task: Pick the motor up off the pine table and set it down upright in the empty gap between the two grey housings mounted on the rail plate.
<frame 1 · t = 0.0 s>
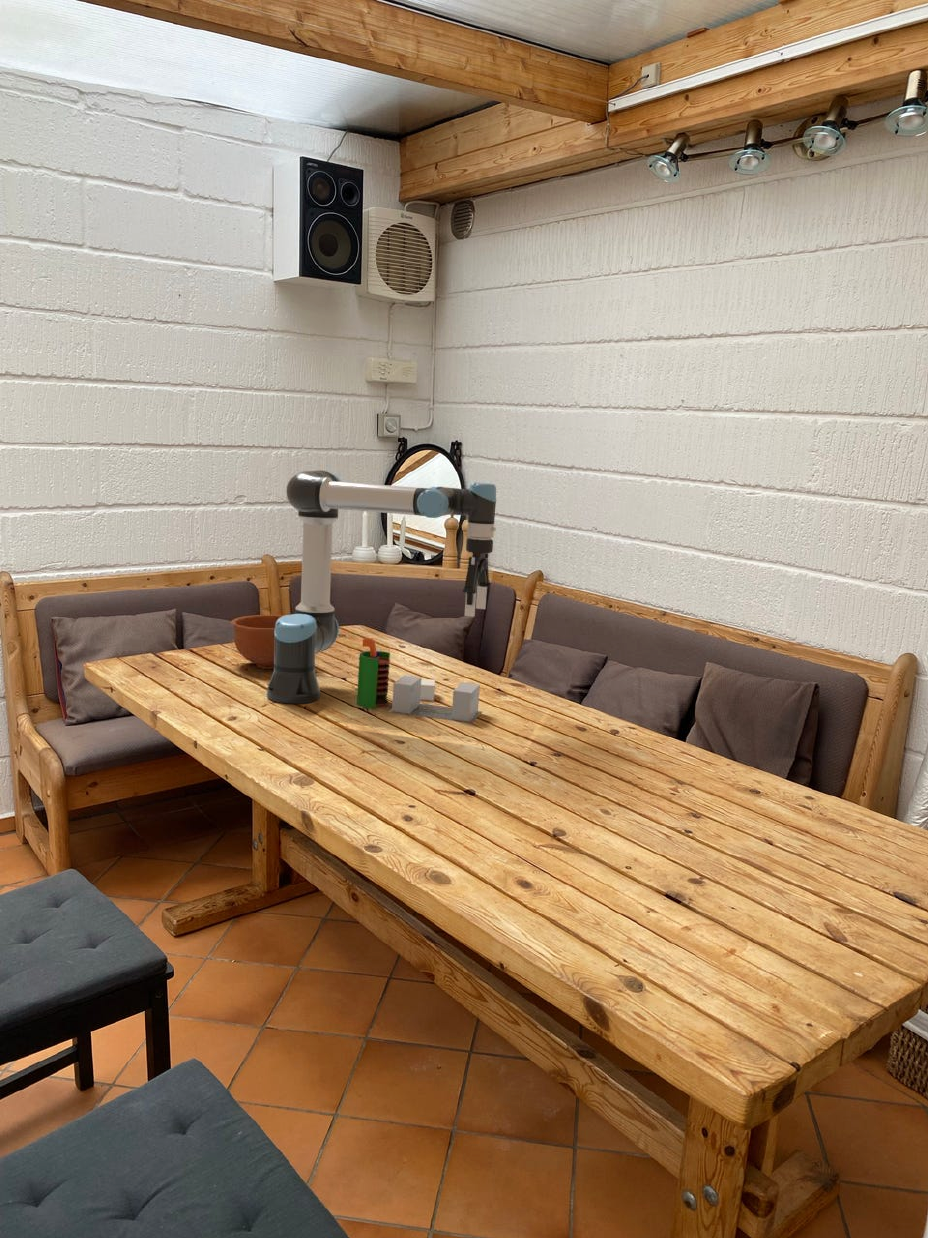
hand: (475, 612, 272), 28 cm above the table, fingers open, 13 cm apart
motor: (372, 709, 270), on the table
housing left: (406, 707, 267), resting on rail plate
rail plate: (435, 716, 265), on the table
loose relay: (425, 702, 280), on the table
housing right: (465, 715, 263), resting on rail plate
bowl: (269, 666, 311), on the table
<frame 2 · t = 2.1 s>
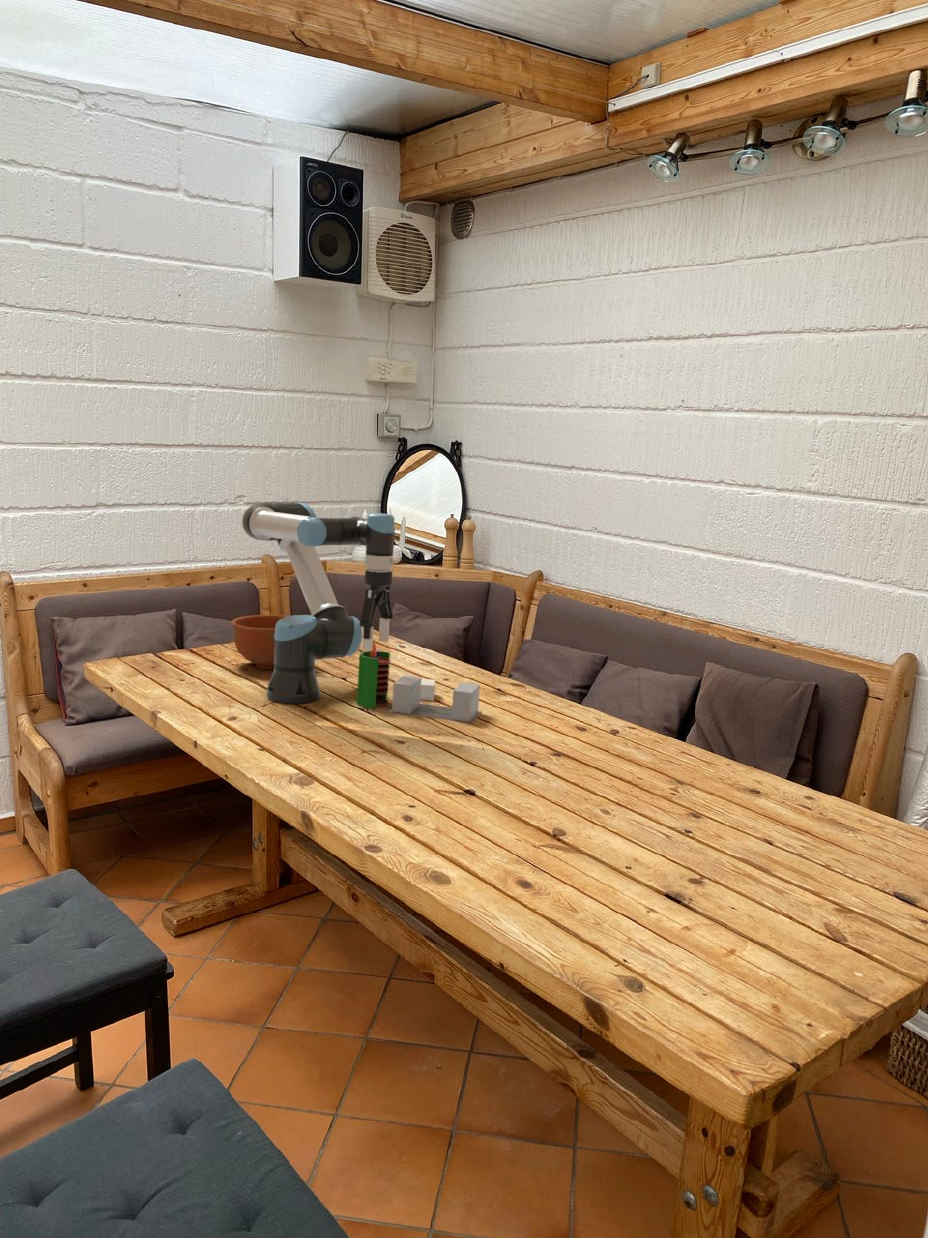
hand: (375, 645, 266), 18 cm above the table, fingers open, 13 cm apart
nothing on the table moved.
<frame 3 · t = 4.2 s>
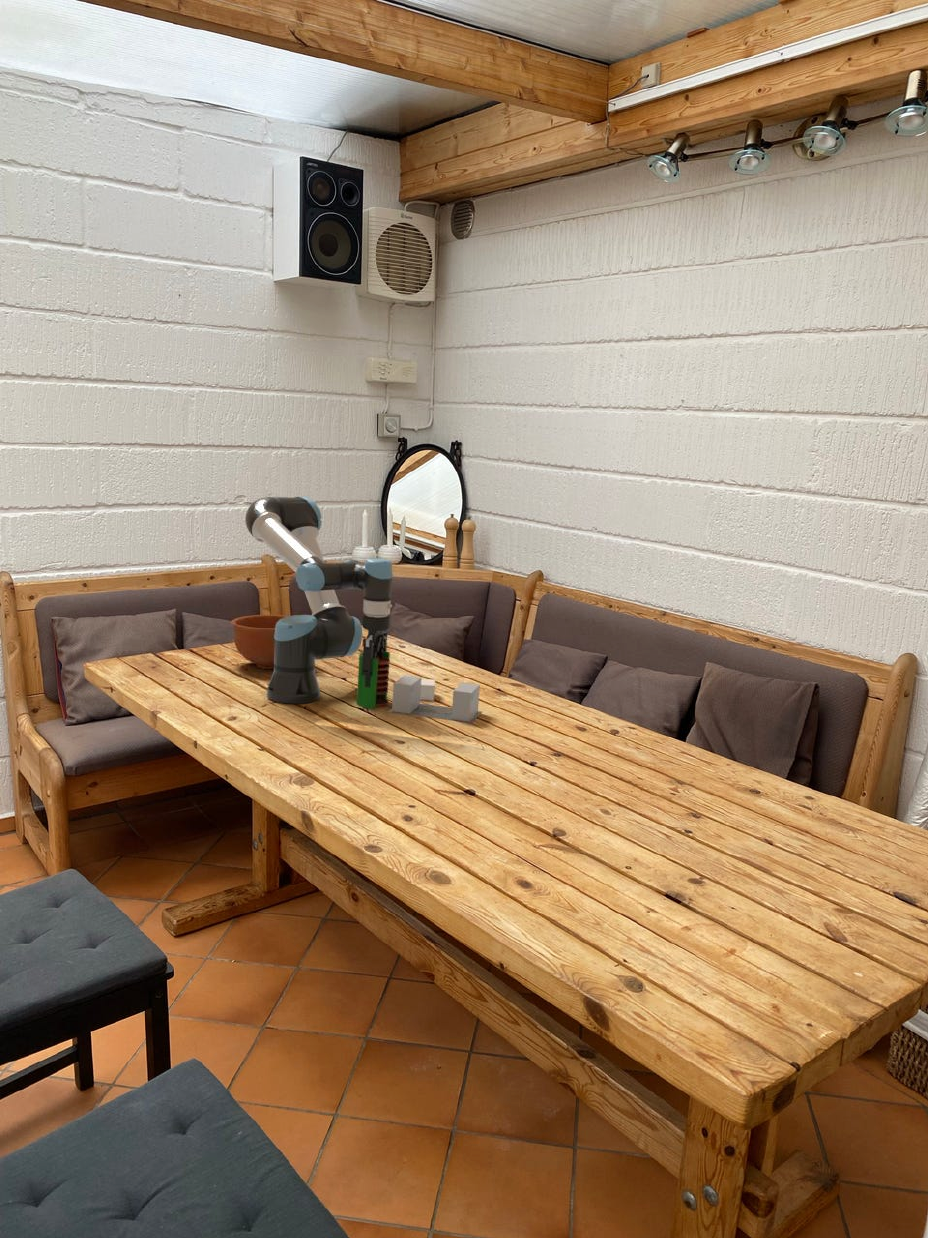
hand: (373, 694, 269), 4 cm above the table, fingers closed on motor, 7 cm apart
motor: (372, 709, 270), on the table, touching gripper
everything else where it was.
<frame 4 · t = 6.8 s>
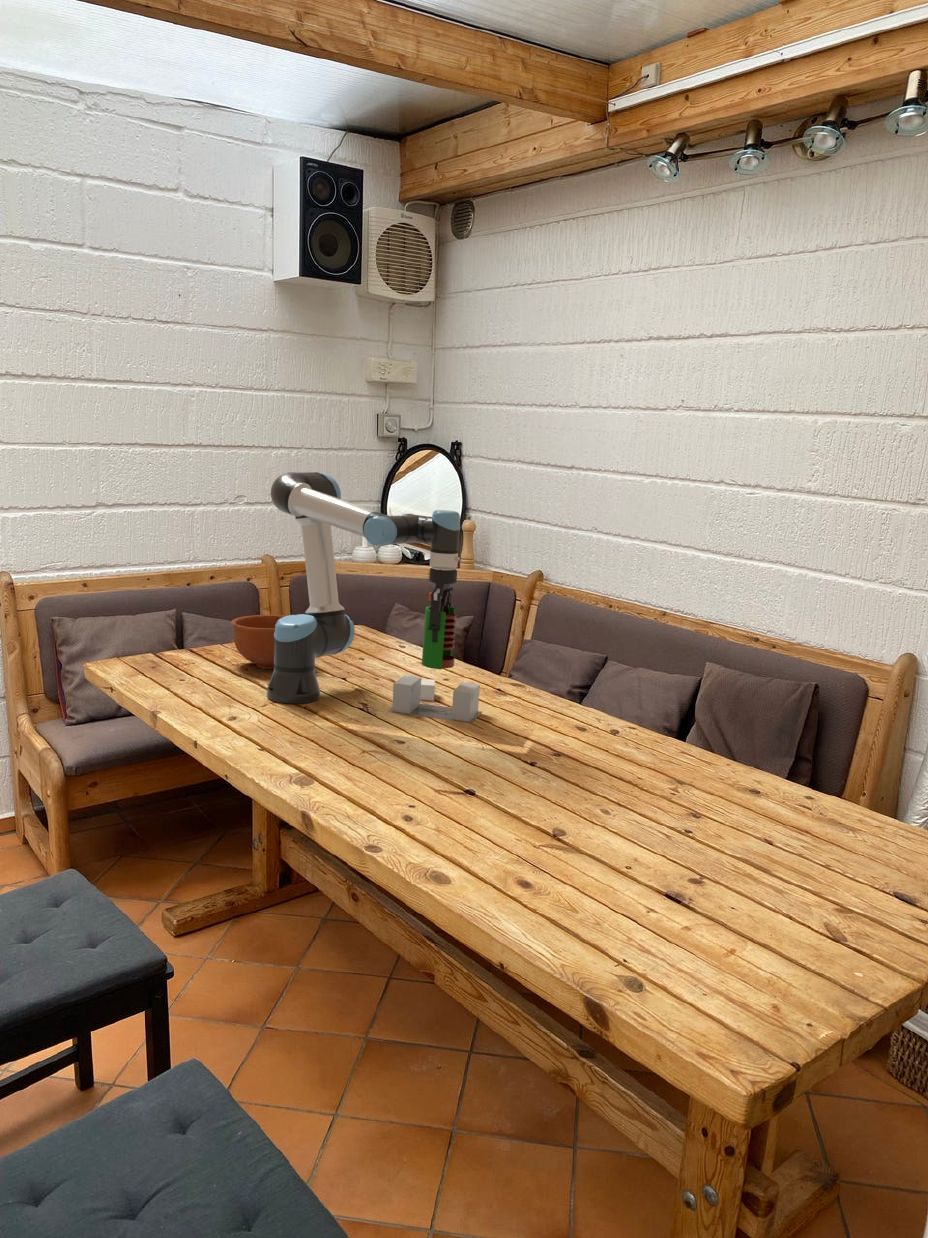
hand: (438, 650, 262), 19 cm above the table, fingers closed on motor, 7 cm apart
motor: (437, 665, 263), point 15 cm above the table, touching gripper
everything else where it was.
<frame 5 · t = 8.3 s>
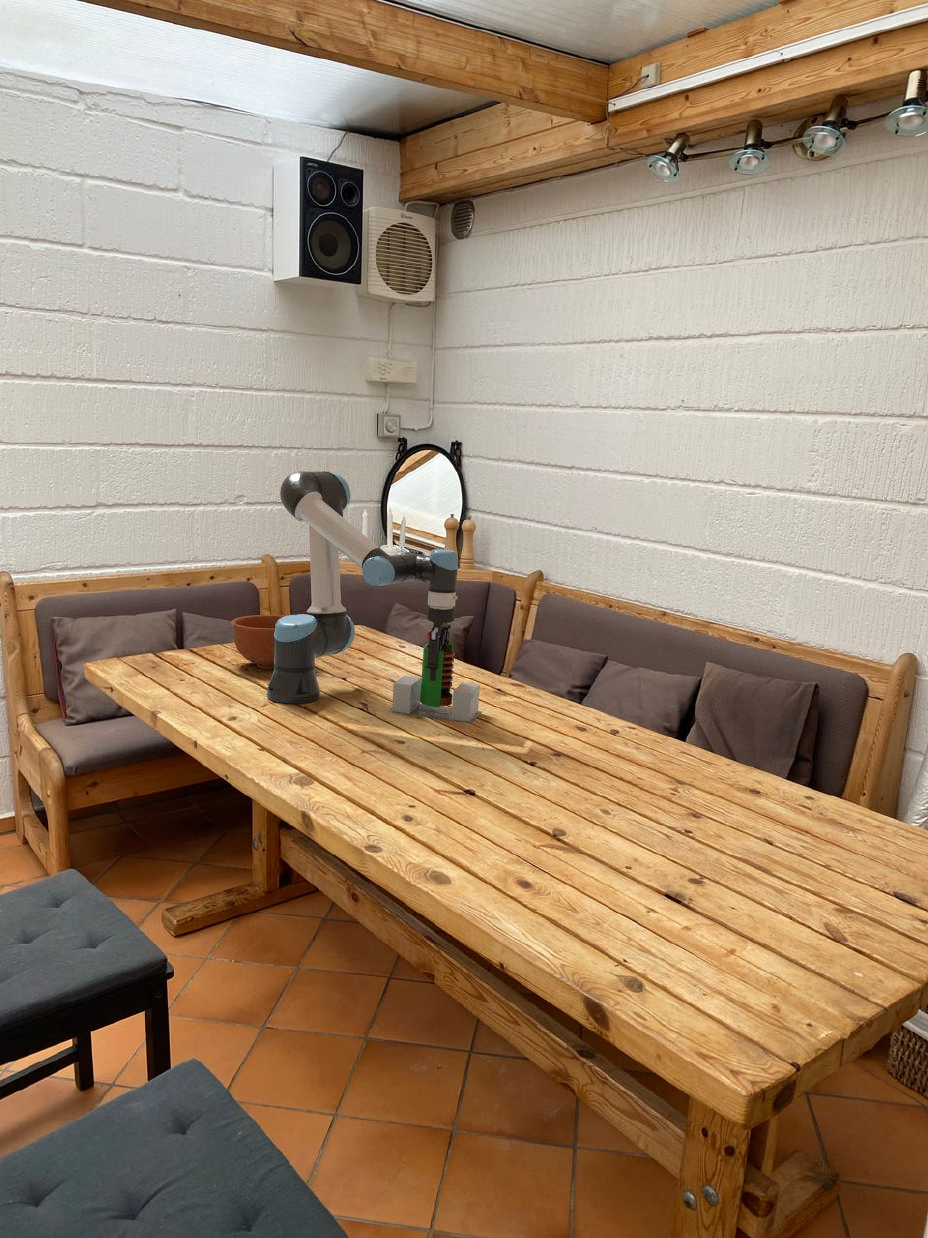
hand: (436, 688, 264), 8 cm above the table, fingers closed on motor, 7 cm apart
motor: (436, 702, 264), point 4 cm above the table, touching gripper
everything else where it was.
when the fingers open (7 cm above the table, at t = 9.2 s): motor drops 2 cm, resting on rail plate.
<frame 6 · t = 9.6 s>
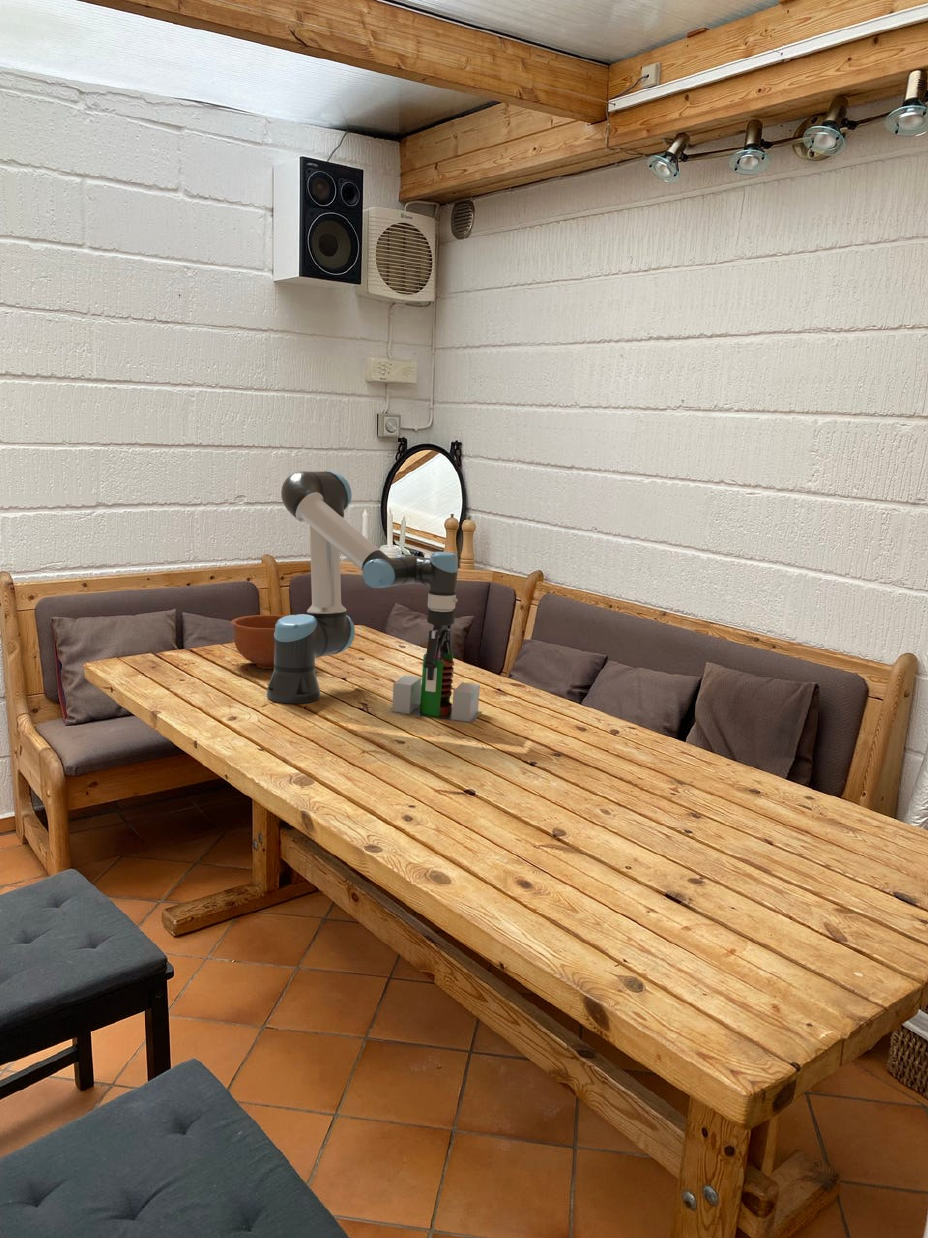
hand: (436, 685, 264), 9 cm above the table, fingers open, 12 cm apart
motor: (435, 712, 266), point 1 cm above the table, touching rail plate
everything else where it was.
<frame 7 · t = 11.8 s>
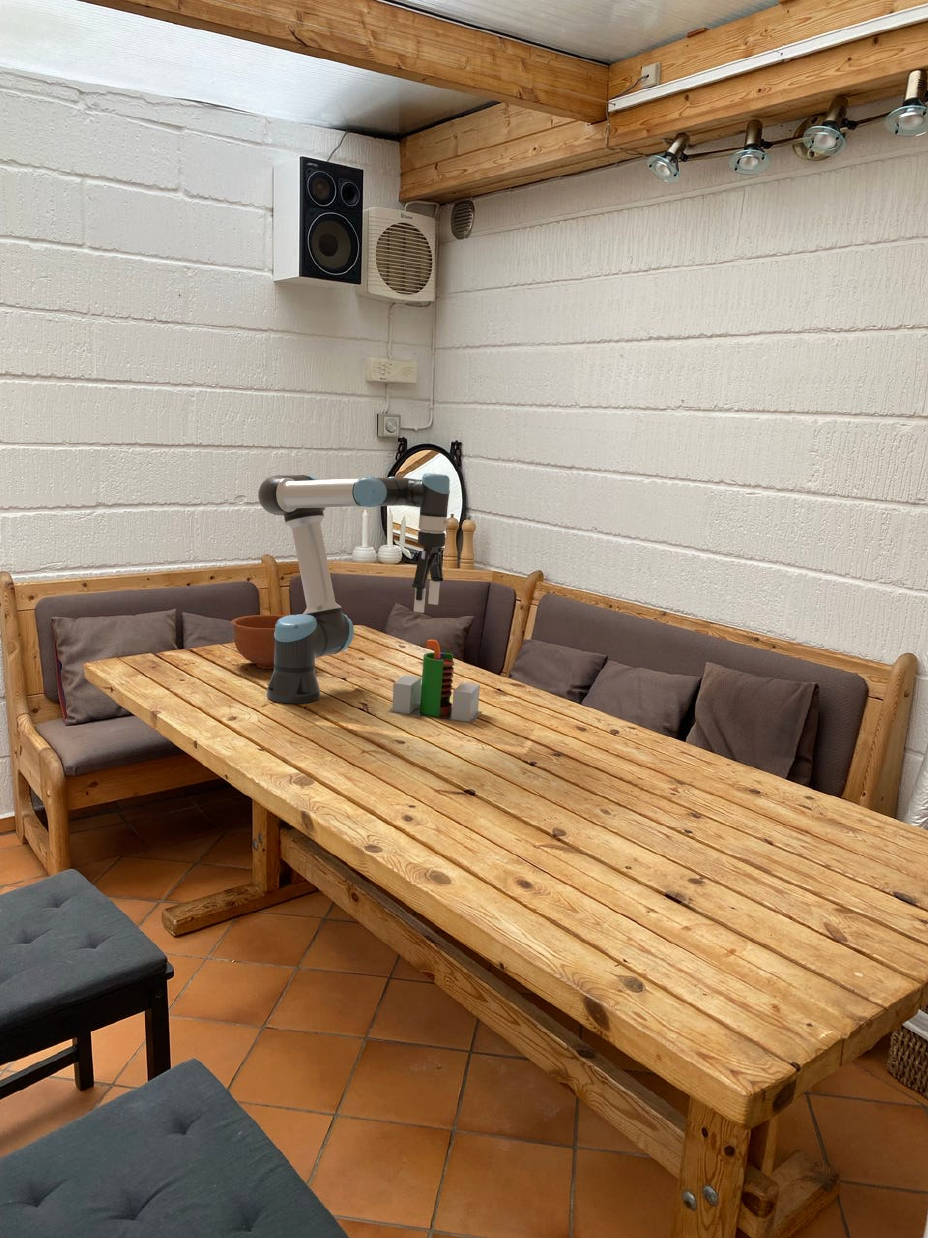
hand: (426, 608, 263), 30 cm above the table, fingers open, 13 cm apart
nothing on the table moved.
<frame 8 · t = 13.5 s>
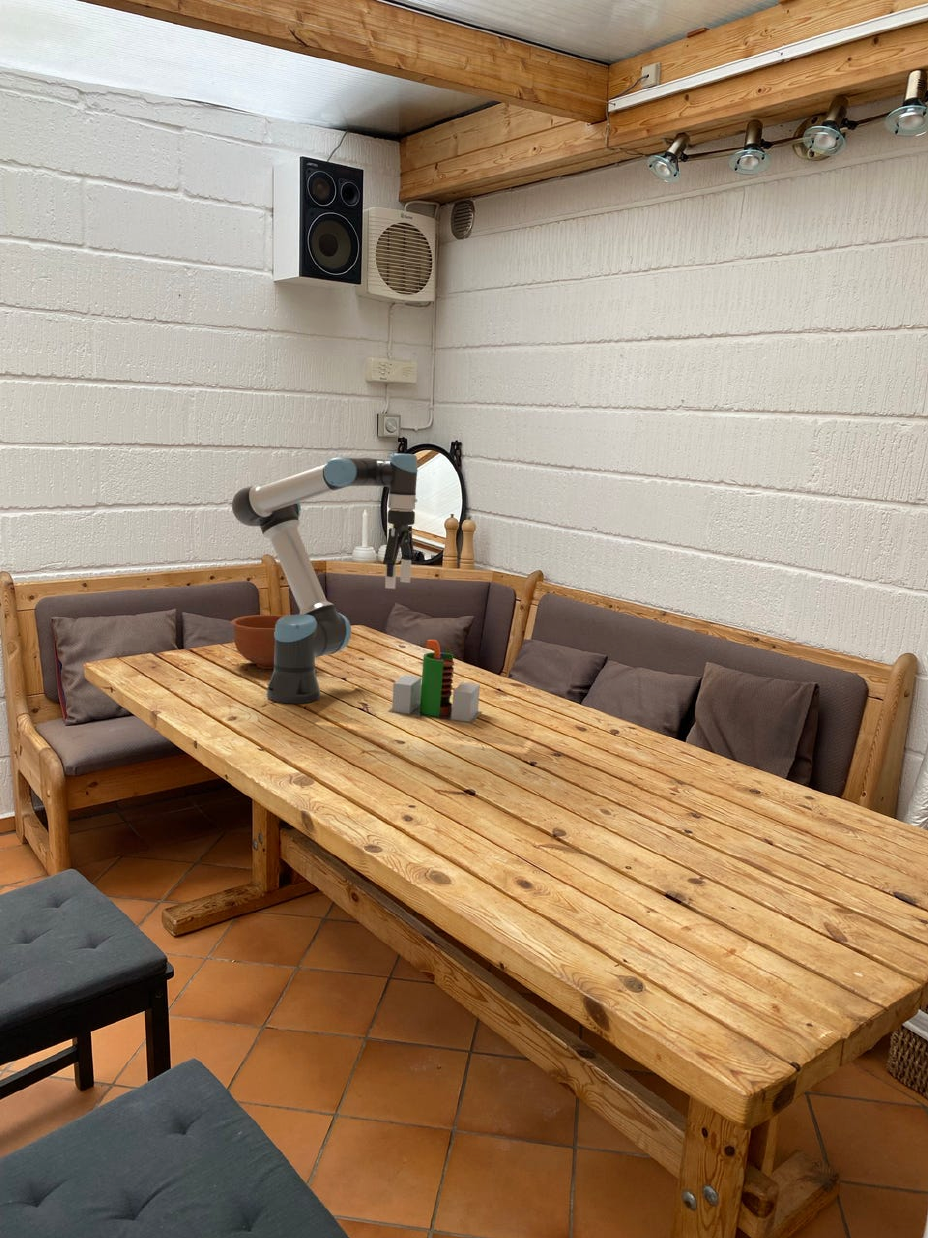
hand: (397, 585, 269), 35 cm above the table, fingers open, 13 cm apart
nothing on the table moved.
at the end: motor inside the target area (0.5 cm from its centre), point 1.3 cm above the table; motor tilted 0°; the gripper is holding nothing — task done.
